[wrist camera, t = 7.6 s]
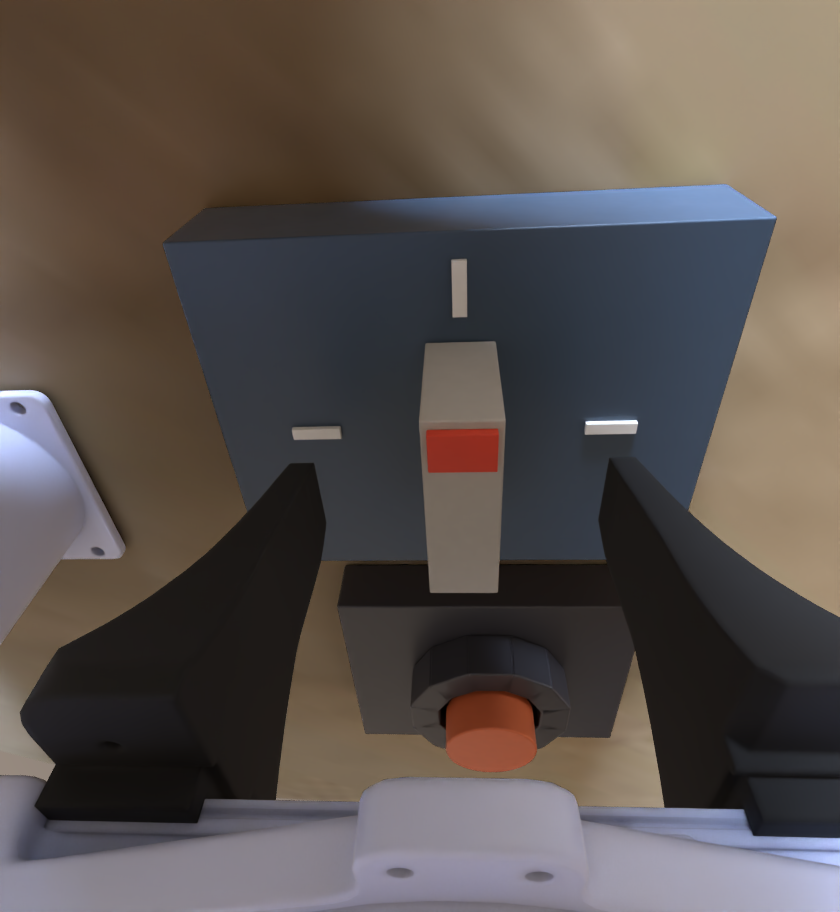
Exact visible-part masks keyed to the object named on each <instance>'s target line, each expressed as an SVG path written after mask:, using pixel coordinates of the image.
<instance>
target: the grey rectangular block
mask: <svg viewBox="0 0 840 912" xmlns="http://www.w3.org/2000/svg"><path fill="white" fill-rule="evenodd" d="M505 425H506V419H505V411H504V403H503V395H502V387H501V379H500V372H499V364H498V356H497V348H496V342H495V341H487V342H450V343H426V344H425V354H424V366H423V378H422V390H421V402H420V415H419V432H420V447H421V463H422V478H423V494H424V509H425V525H426V540H427V556H428V572H429V587H430V592H431V593H497V592H498V583H499V560H500V538H501V515H502V493H503V470H504V448H505Z"/></svg>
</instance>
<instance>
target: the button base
mask: <svg viewBox="0 0 840 912" xmlns="http://www.w3.org/2000/svg"><path fill="white" fill-rule="evenodd" d="M337 607H338V612H339V616H340V621H341V625H342V630H343V634H344V639H345V644H346V648H347V653H348V657H349V662H350V666H351V671H352V675H353V680H354V685H355V689H356V694H357V698H358V703H359V707H360V712H361V716H362V721H363V726H364V730H365V733H366V734H415V735H422V736H424V737H425V738H426V739H427V740H428V741H430V742H431V743H432V744H433V745H435V746H438V747H441V748H444V749H446V708H447V705H448V703H449V702H450V700H451V699H452V698H455V697H458V696H461V695H465V694H468V693H471V692H474V691H506V692H509V693H512V694H515V695H518V696H521V697H524V698H526V699H527V700H528V701H529V702H530V704H531V706H532V709H533V718H534V726H535V735H536V744H537V749H539V748H543V747H544V746H546V745H547V744H549V743H550V742H551V741H553V740H554V739H555V738H557V737H592V738H609V737H610V736H611V732H612V729H613V725H614V722H615V718H616V715H617V711H618V708H619V704H620V701H621V697H622V694H623V690H624V687H625V683H626V680H627V676H628V673H629V669H630V666H631V662H632V659H633V655H634V652H635V648H634V645H633V641H632V637H631V634H630V631H629V628H628V625H627V622H626V619H625V616H624V613H623V610H622V607H621V604H620V601H619V598H618V595H617V592H616V589H615V586H614V583H613V580H612V577H611V574H610V571H609V568H608V565H499V583H498V592H497V593H431V592H430V587H429V572H428V565H347V566H345V569H344V574H343V579H342V585H341V590H340V595H339V600H338V605H337Z"/></svg>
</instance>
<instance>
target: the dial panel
mask: <svg viewBox="0 0 840 912" xmlns="http://www.w3.org/2000/svg"><path fill="white" fill-rule="evenodd" d="M775 223H776V216H774V215H773V214H771V213H770V212H768V211H766V210H765V209H763V208H762V207H760V206H759V205H757V204H756V203H754V202H753V201H751V200H750V199H748V198H747V197H745V196H744V195H742V194H741V193H739V192H738V191H736V190H735V189H733V188H732V187H730V186H728V185H727V184H724V185H702V186H680V187H658V188H636V189H615V190H593V191H571V192H549V193H527V194H506V195H484V196H462V197H440V198H418V199H397V200H375V201H353V202H331V203H309V204H287V205H266V206H244V207H222V208H205V209H203V210H202V211H201V212H200V213H198V214H197V215H196V216H195V217H193V218H192V219H191V220H190V221H189V222H187V223H186V224H185V225H184V226H183V227H181V228H180V229H179V230H178V231H176V232H175V233H174V234H173V235H172V236H170V237H169V238H168V239H167V240H165V241H164V242H163V247H164V251H165V254H166V257H167V260H168V263H169V266H170V270H171V273H172V276H173V279H174V282H175V285H176V288H177V292H178V295H179V298H180V301H181V304H182V307H183V311H184V314H185V317H186V320H187V323H188V326H189V329H190V333H191V336H192V339H193V342H194V345H195V348H196V351H197V355H198V358H199V361H200V364H201V367H202V370H203V374H204V377H205V380H206V383H207V386H208V389H209V392H210V396H211V399H212V402H213V405H214V408H215V411H216V415H217V418H218V421H219V424H220V427H221V430H222V433H223V437H224V440H225V443H226V446H227V449H228V452H229V455H230V459H231V462H232V465H233V468H234V471H235V474H236V478H237V481H238V484H239V487H240V490H241V493H242V496H243V500H244V503H245V506H246V509H247V512H248V511H249V510H250V509H251V508H252V506H253V505H254V504H255V503H256V502H257V501H258V500H259V499H260V498H261V496H262V495H263V494H264V493H265V492H266V491H267V489H268V488H269V487H270V486H271V485H272V483H273V482H274V481H275V480H276V479H277V478H278V476H279V475H280V474H281V473H282V472H283V470H284V469H285V468H286V467H287V466H288V465H289V464H290V463H314V465H315V470H316V474H317V479H318V484H319V489H320V494H321V498H322V503H323V508H324V513H325V518H326V522H327V523H326V531H325V539H324V546H323V552H322V559H321V561H372V560H428V556H427V540H426V525H425V509H424V494H423V478H422V463H421V447H420V432H419V415H420V402H421V390H422V378H423V366H424V354H425V344H426V343H450V342H487V341H495V342H496V348H497V356H498V364H499V372H500V379H501V387H502V395H503V403H504V411H505V419H506V425H505V448H504V470H503V493H502V515H501V538H500V560H606V558H605V554H604V549H603V544H602V539H601V533H600V528H599V522H598V518H599V512H600V506H601V501H602V495H603V490H604V484H605V479H606V473H607V467H608V462H609V458H611V457H636V458H637V459H638V460H639V461H640V462H641V463H642V465H643V466H644V467H645V468H646V469H647V470H648V471H649V472H650V473H651V474H652V475H653V476H654V477H655V478H656V479H657V480H658V481H659V482H660V483H661V484H662V485H663V486H664V488H665V489H666V490H667V491H668V492H669V493H670V494H671V495H672V496H673V497H674V498H675V499H676V500H677V501H678V502H679V503H680V504H681V505H682V506H683V507H684V508H686V509H687V510H688V509H689V506H690V502H691V499H692V496H693V492H694V489H695V486H696V483H697V479H698V476H699V473H700V469H701V466H702V463H703V460H704V456H705V453H706V450H707V446H708V443H709V440H710V437H711V433H712V430H713V427H714V423H715V420H716V417H717V414H718V410H719V407H720V404H721V400H722V397H723V394H724V390H725V387H726V384H727V381H728V377H729V374H730V371H731V367H732V364H733V361H734V358H735V354H736V351H737V348H738V344H739V341H740V338H741V335H742V331H743V328H744V325H745V321H746V318H747V315H748V312H749V308H750V305H751V302H752V298H753V295H754V292H755V289H756V285H757V282H758V279H759V275H760V272H761V269H762V266H763V262H764V259H765V256H766V252H767V249H768V246H769V242H770V239H771V236H772V233H773V229H774V226H775Z"/></svg>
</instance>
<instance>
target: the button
mask: <svg viewBox="0 0 840 912" xmlns="http://www.w3.org/2000/svg"><path fill="white" fill-rule="evenodd" d="M446 752H447V754H448V756H449V758H450V759H451V760H452V761H453V762H455V763H456V764H458V765H460V766H462V767H464V768H467V769H471V770H475V771H482V772H503V771H509V770H514V769H517V768H520V767H522V766H524V765H526V764H528V763H529V762H531V761H532V760H533V758H534V757H535V755H536V752H537V744H536V735H535V726H534V718H533V709H532V706H531V704H530V702H529V701H528V700H527V699H526V698H524V697H521V696H518V695H515V694H512V693H509V692H506V691H474V692H471V693H468V694H465V695H461V696H458V697H455V698H452V699H451V700H450V702H449V703H448V705H447V708H446Z"/></svg>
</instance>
